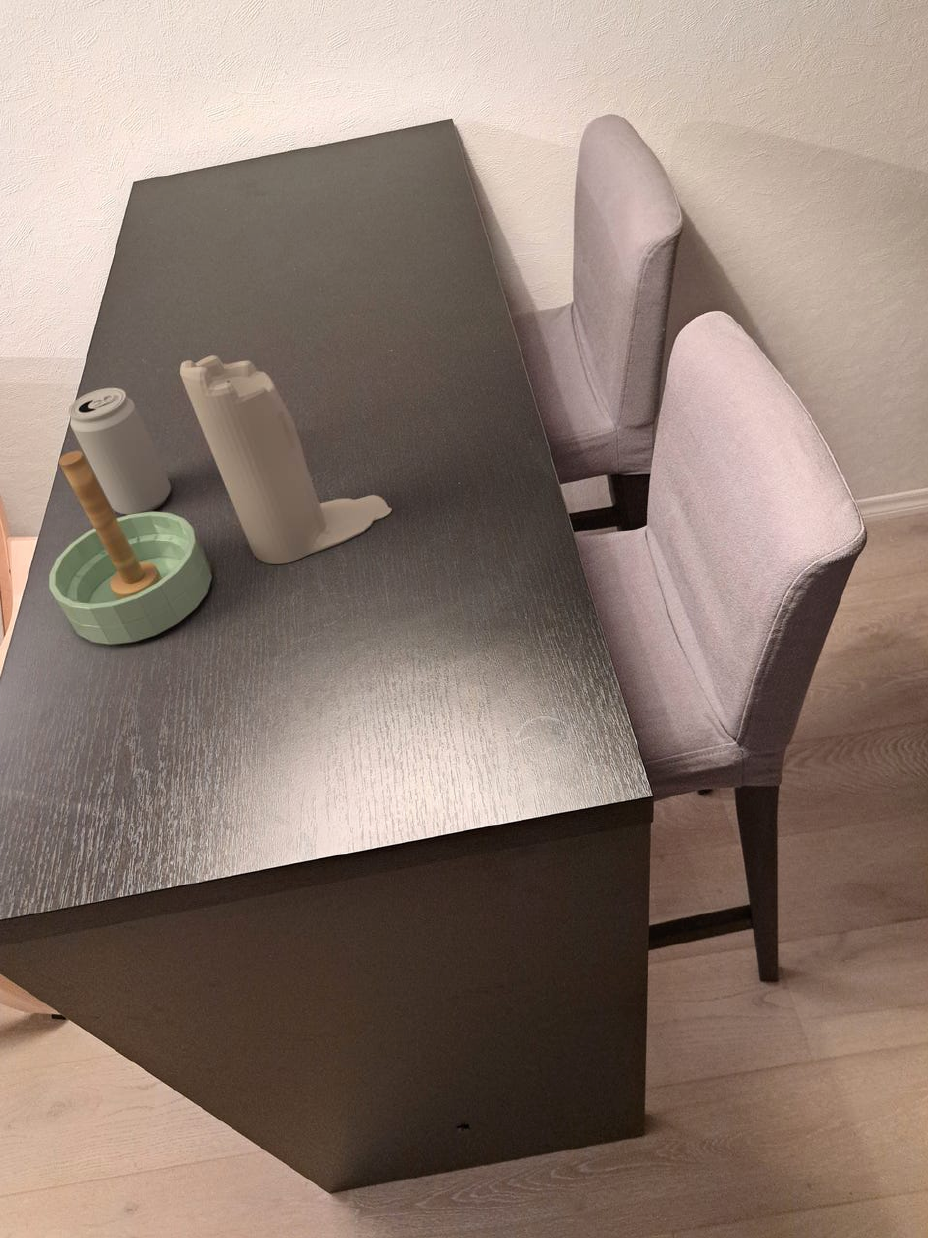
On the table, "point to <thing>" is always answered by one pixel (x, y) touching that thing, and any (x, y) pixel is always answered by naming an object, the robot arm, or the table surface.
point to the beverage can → (119, 451)
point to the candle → (268, 464)
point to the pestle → (108, 529)
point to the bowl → (153, 610)
